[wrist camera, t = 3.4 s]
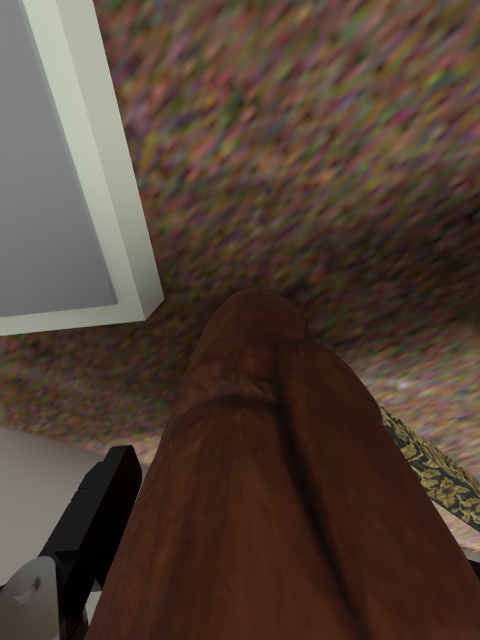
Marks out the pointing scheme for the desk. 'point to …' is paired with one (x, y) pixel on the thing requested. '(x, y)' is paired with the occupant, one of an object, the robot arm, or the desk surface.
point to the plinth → (66, 179)
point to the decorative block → (437, 472)
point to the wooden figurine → (281, 505)
